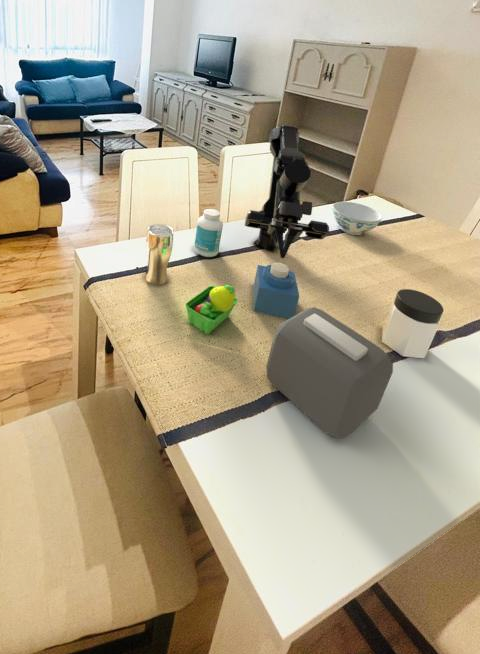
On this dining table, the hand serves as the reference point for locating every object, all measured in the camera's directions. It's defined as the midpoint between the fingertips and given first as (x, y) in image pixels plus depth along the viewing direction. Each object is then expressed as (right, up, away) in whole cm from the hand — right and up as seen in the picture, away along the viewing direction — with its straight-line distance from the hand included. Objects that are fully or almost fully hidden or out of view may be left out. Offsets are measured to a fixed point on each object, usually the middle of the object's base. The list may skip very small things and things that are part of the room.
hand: (282, 258), depth 93 cm
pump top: (0, -4, +1) cm, 4 cm away
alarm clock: (-3, -22, -21) cm, 30 cm away
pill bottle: (-13, -4, +25) cm, 29 cm away
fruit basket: (-18, -14, -3) cm, 23 cm away
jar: (+24, -18, -6) cm, 31 cm away
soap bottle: (-1, -12, +5) cm, 13 cm away
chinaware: (+43, 0, +43) cm, 61 cm away
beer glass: (-30, -8, +12) cm, 33 cm away
